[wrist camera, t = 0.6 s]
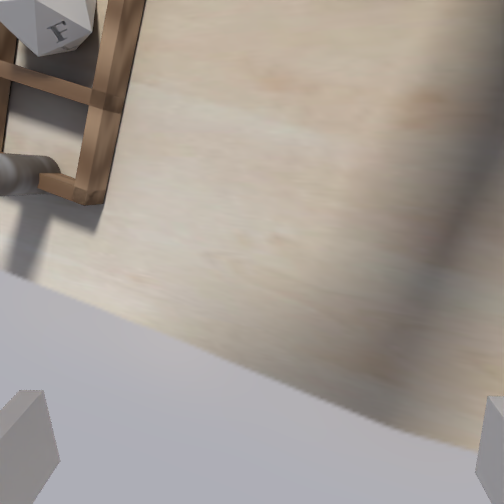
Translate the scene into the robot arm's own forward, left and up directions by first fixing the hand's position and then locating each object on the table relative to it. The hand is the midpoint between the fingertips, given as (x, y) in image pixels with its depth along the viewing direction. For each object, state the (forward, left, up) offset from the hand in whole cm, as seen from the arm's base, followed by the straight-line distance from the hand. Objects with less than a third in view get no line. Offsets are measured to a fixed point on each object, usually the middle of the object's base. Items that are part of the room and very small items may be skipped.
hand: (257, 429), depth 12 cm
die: (-14, -31, -27) cm, 44 cm away
